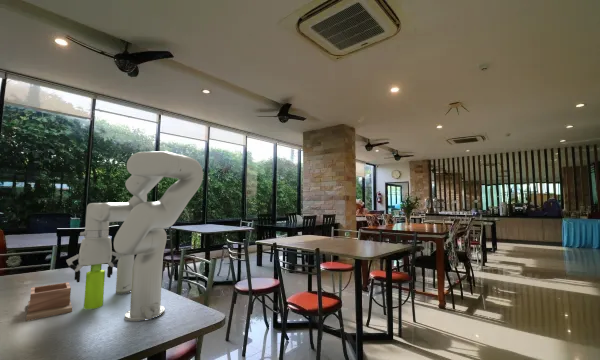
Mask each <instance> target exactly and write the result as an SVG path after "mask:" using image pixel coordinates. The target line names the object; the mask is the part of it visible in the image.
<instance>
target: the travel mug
mask: <svg viewBox="0 0 600 360" xmlns="http://www.w3.org/2000/svg"><path fill="white" fill-rule="evenodd" d="M134 260H135V255H131V256H121V258H120V259H119V261H118V262H117V263H116V265H117V269H116V280H115V281H116V282H115V294H116V295H126V294H125V293H127V294H129V293H128V292H130V291H131V287H132V271H133V263H134ZM130 293H131V292H130Z"/></svg>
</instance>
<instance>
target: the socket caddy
mask: <svg viewBox="0 0 600 360" xmlns="http://www.w3.org/2000/svg"><path fill="white" fill-rule="evenodd" d="M71 291H72V288H71V285H70V282H68V281H67V282H60V283H53V284H47V285H46V284H45V285H38V286H32V287H30V297H29V298H30V299H29V300H28V303H27V308H26V309H27V310H26V318H25V321H26V322H28V321H32V320H33V321H34V320H36V319H37V320H38V319H42V318H48V317H51V316H52V317H53V316H57V315H62V314H67V313H72V312H73V305H72V302H71Z"/></svg>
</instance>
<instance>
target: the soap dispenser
mask: <svg viewBox="0 0 600 360" xmlns="http://www.w3.org/2000/svg"><path fill="white" fill-rule="evenodd" d="M102 265H103V264H98V265H90V271H87V272H86V274H85V285H84V287H85V288H84V302H83V309H84V310H93V309H98V308H101V307H103V305H104V295H105V294H104V293H105V292H104V291H105V279H106V278H105V276H106V270H104V269H102Z"/></svg>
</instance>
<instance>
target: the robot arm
mask: <svg viewBox="0 0 600 360" xmlns="http://www.w3.org/2000/svg"><path fill="white" fill-rule="evenodd" d="M126 170H127V172H128V173H129V175H130V174H131V175H130V176H129V177H128V178H127V179H126V181H125V184H124V185H125V187H126V190H127V191H128V192H129V193H130V194H131V195H133V196H132V197H130V199H129V200H128V201H127V202H120V201H119V202H90V203H88V204H87V206H86V214H85V229H84V231H81V232H80V233H79V235H80V237H84V238H82V239H81V242H80V247H79V253H78V254H76V255H74V256H72V257H70V258H68V259H65V260H66V263H67V265H68V267H69V268H70V269H72V270H73V271H74V281H76V283H80V281H81V269H82V268H83V267H86V266H87V267H88V266H91V265H98V264H102V265H105V264H107V265H108V266H107V268H106V269H107V270H106V277H107V278H108V279H110V278H111V276H113V270H114V267H115V266H116V265H117V264H118V261H119V259H120V258H121V256H131V255H134V256H135V255H136V256H135V257H134V263H133V271H132V287H131V292H130V307H129V310H128V311H126V312H125V314H124V320H126V321H128V320H129V322H140V321H139V320H145V319H150V318H153V317H156V316H158V315H160V314H162V313H163V312H164V311H165V312H166V307H165V306H163V305H161V303H162V302H161V300H162V281H163V280H162V279H163V262H164V261H163V259H164V253H165V248H166V244H167V240H168V239H167V237H168V236H167V232H166V230H165V229H166V228H168V229H169V228H170V227H172V226H173V225H174V224H175V223H176V221H177V220H178V219H179V217H180V216H181V214H182V213H183V211H184V210H185V208H186V207H187V205H188V203H189V202H190V200H191V199H192V198H193V197H194V195H195V194H196V193H197V192H198V190H199V188H200V187H201V185H202V183H203V179H204V178H203V177H204V171H203V168H202V166H201V164H200V162H199V161H198V160H197V159H195V158H193V157H191V156H187V155H184V154H178V153H174V152H171V151H165V150H164V151H163V150H162V151H159V150H158V151H139V152H135V153H134V154H132V155H131V156H129V158H128V160H127V163H126ZM163 178H169V179H170V178H172V179H177V180H176V181H175V182H174V183H172V184H171V185H170V186H169V187H168V188H167V189H166V191H165V192H164V193H163V195H162V196H161V197H160V199H159V200H157V201H148V194H149V193H150V192H151V191H152V189H154V187H155V186H157V185H158V184H159V183H160V181H162V179H163ZM115 222H118V223H119V222H123V223H122V224H121V226H120V227H119V229H118V230H117V231H116V234H115V236H114V238H113V248H112V239H111V237H110V236H109V232H110V231H109V230H110V223H115ZM112 249H114V251H113V250H112ZM113 256H114V257H115V259H113ZM112 259H113V260H112ZM76 260H78V261H77V262H78V264H77V265H75V264H74V263H73V262H74V261H76ZM165 312H164V313H165ZM164 313H163V314H164ZM163 314H162V315H163ZM150 320H151V319H150ZM145 321H146V320H145Z"/></svg>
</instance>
